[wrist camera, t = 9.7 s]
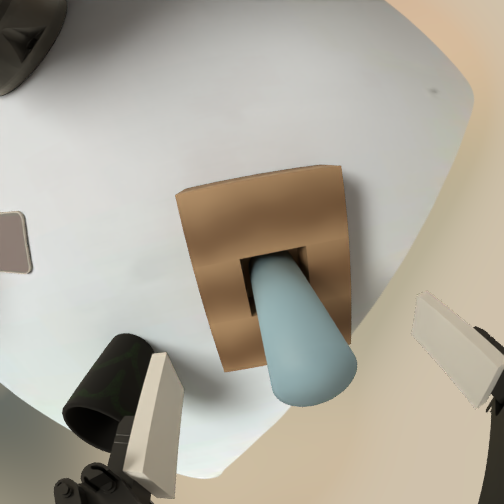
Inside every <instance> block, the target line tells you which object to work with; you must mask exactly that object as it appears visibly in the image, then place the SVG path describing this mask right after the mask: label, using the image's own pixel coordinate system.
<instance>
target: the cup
mask: <svg viewBox="0 0 504 504" xmlns="http://www.w3.org/2000/svg"><path fill="white" fill-rule="evenodd" d="M152 354H154V351H153V349H152V348H151V346H150V345H149V344H148V343H147V342H146V341H145V340H143V339H142V338H140V337H138V336H136V335H133V334H119V335H117V336H115V337H114V338H113V339H112V340H111V342H110V343H109V344H108V346H107V347H106V348H105V350H104V351H103V353H102V354H101V355H100V357H99V358H98V359H97V361H96V362H95V363H94V365H93V366H92V368H91V369H90V370H89V372H88V373H87V375H86V376H85V377H84V379H83V380H82V382H81V383H80V384H79V386H78V387H77V389H76V390H75V392H74V393H73V395H72V396H71V397H70V399H69V400H68V402H67V403H66V405H65V406H64V408H63V411H62V414H63V418H64V421H65V422H66V424H67V426H68V427H69V428H70V429H71V430H72V431H73V432H74V433H75V434H76V435H77V436H78V437H79V438H81V439H82V440H84V441H85V442H86V443H88V444H90V445H92V446H94V447H95V448H98V449H100V450H102V451H105V452H108V453H111V450H112V446H113V444H114V439H115V436H116V432H117V428H118V424H119V423H120V422H121V420H122V419H123V418H124V416H135V414H136V411H137V407H138V403H139V399H140V395H141V392H142V388H143V384H144V381H145V377H146V374H147V370H148V367H149V364H150V360H151V357H152Z"/></svg>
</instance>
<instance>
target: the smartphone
mask: <svg viewBox="0 0 504 504" xmlns="http://www.w3.org/2000/svg"><path fill="white" fill-rule="evenodd" d="M25 227H26V226H25V219H24V216H23V214H22V213H21V212H20V211H11V212H0V272H7V273H18V274H27V273H29V272H30V271H31V268H32V265H31V259H30V256H29V255H30V254H29V247H28V246H27V234H26V230H25V229H26V228H25Z"/></svg>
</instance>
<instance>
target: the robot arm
mask: <svg viewBox="0 0 504 504" xmlns="http://www.w3.org/2000/svg"><path fill="white" fill-rule="evenodd" d="M66 11H67V1H66V0H0V96H2V95H5V94H7V93H9V92H10V91H12V90H13V89H15V88H16V87H17V86H19V85H20V84H21V83H22V82H23V81H24V80H25V79H26V78H27V77H28V76H29V75H30V74H31V73H32V72H33V71H34V70H35V68H36V67H37V66H38V65H39V64H40V62H41V61H42V60H43V58H44V57H45V55H46V54H47V52H48V51H49V49H50V48H51V46H52V45H53V43H54V41H55V39H56V38H57V36H58V34H59V32H60V29H61V27H62V25H63V22H64V19H65V16H66ZM411 334H412V336H413V337H414V338H415V339H416V340H417V341H418V342H419V343H420V345H421V346H422V347H423V348H424V349H425V350H426V351H427V352H428V354H429V355H430V356H431V357H432V358H433V359H434V360H435V361H436V363H437V364H438V365H439V366H440V367H441V368H442V369H443V371H444V372H445V373H446V374H447V375H448V377H449V378H450V379H451V380H452V381H453V382H454V384H455V385H456V386H457V387H458V388H459V390H460V391H461V392H462V393H463V394H464V396H465V397H466V398H467V399H468V401H469V402H470V403H471V404H472V406H473V407H474V408H475V409H477V408H479V407H480V406H481V405H483V404H484V403H485V402H486V401H487V399H488V398H489V396H490V394H492V395H493V396H494V397H493V399H492V400H491V402H490V404H489V406H488V407H487V409H486V412H488V410H489V409H490V407H491V406H492V409H491V411H490V412H491V430H490V441H489V450H488V458H487V464H486V471H485V476H484V481H483V486H482V491H481V494H480V498H479V502H478V504H504V347H503V346H501V344H499V343H498V342H497V341H495V339H494V338H493V337H490V335H489V334H488V333H487V332H486V331H484V330H483V329H481V328H479V327H476V326H475V327H471V326H470V325H469V324H468V323H467V322H466V321H465V320H463V319H462V318H461V317H460V316H459V315H457V314H456V313H455V312H454V311H453V310H451V309H450V308H449V307H448V306H446V305H445V304H444V303H443V302H441V301H440V300H439V299H438V298H436V297H435V296H434V295H433V294H431V293H430V292H429V291H425V292H422V293H419V294H417V301H416V308H415V315H414V322H413V328H412V333H411ZM183 397H184V388H183V386H182V384H181V382H180V380H179V378H178V376H177V374H176V372H175V369H174V367H173V365H172V363H171V361H170V359H169V356H168V354H167V352H164V353H156V354H152V357H151V360H150V364H149V367H148V370H147V374H146V377H145V381H144V384H143V388H142V392H141V395H140V399H139V403H138V407H137V411H136V414H135V416H124V418H123V419H122V420H121V422H120V423H119V424H118V428H117V432H116V436H115V439H114V444H113V446H112V450H111V454H110V458H109V462H108V466H106V465H104V464H102V463H92V464H89V465H87V466H86V467H85V468H84V469H83V471H82V473H81V481H82V483H81V484H77V483H76V482H74V481H73V480H71V479H69V478H64V479H61V480H59V481H58V482H57V483H56V484H55V487H54V497H55V503H56V504H154V503H153V502H152V501H151V500H150V497H151V494H153V495H154V496H155V497H157V498H168V499H174V498H175V484H176V470H177V457H178V445H179V434H180V424H181V414H182V405H183Z"/></svg>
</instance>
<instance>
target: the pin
mask: <svg viewBox="0 0 504 504" xmlns="http://www.w3.org/2000/svg"><path fill="white" fill-rule="evenodd" d="M249 274H250V280H251V285H252V290H253V295H254V300H255V305H256V310H257V315H258V320H259V326H260V331H261V336H262V341H263V346H264V351H265V356H266V361H267V366H268V371H269V376H270V381H271V386H272V390H273V393H274V395H275V396H276V397H277V398H278V399H279V400H280V401H282V402H283V403H285V404H288V405H291V406H299V407H306V406H313V405H318V404H320V403H323V402H326V401H329V400H331V399H332V398H334V397H336V396H337V395H339V394H340V393H341V392H342V391H344V390H345V389H346V388H347V387H348V386H349V384H350V383H351V381H352V380H353V378H354V376H355V374H356V370H357V360H356V357H355V355H354V354H353V352H352V350H351V349H350V347H349V345H348V344H347V342H346V341H345V339H344V337H343V336H342V334H341V333H340V331H339V329H338V328H337V326H336V325H335V323H334V321H333V320H332V318H331V317H330V315H329V313H328V312H327V310H326V309H325V307H324V305H323V304H322V302H321V301H320V299H319V298H318V296H317V295H316V293H315V291H314V290H313V288H312V287H311V285H310V284H309V282H308V281H307V279H306V277H305V276H304V274H303V273H302V271H301V270H300V268H299V267H298V265H297V264H296V262H295V261H294V259H293V258H292V256H291V255H290V253H289V252H288V251H287V250H283V251H278V252H273V253H268V254H263V255H258V256H253V257H251V259H250V261H249Z"/></svg>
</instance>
